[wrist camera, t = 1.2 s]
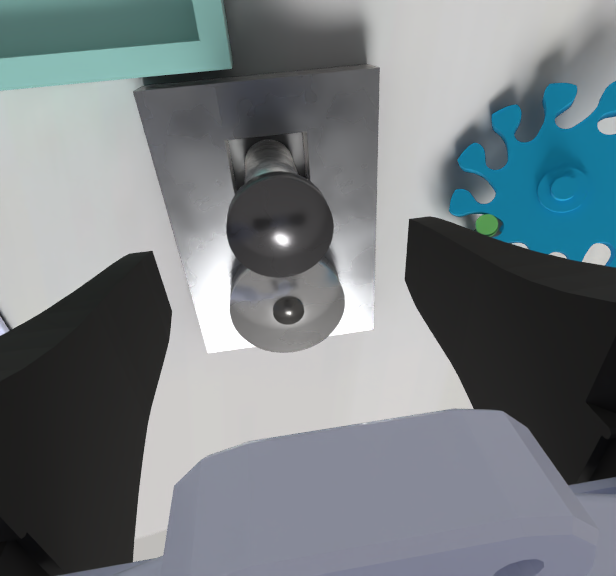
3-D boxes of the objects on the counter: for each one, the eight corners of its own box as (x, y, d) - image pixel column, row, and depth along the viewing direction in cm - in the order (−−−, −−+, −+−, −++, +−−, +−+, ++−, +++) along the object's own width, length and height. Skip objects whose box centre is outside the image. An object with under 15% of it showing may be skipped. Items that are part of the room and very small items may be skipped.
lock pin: (239, 202, 21) (236, 283, 14) (226, 130, 19) (216, 185, 12) (307, 194, 21) (335, 270, 15) (301, 122, 19) (331, 172, 13)
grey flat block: (210, 331, 25) (205, 375, 22) (143, 85, 18) (121, 98, 14) (365, 310, 26) (382, 349, 23) (367, 63, 18) (393, 71, 15)
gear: (611, 21, 17) (780, 212, 15) (585, 82, 22) (707, 229, 20) (392, 182, 21) (500, 348, 19) (414, 201, 27) (500, 333, 25)
